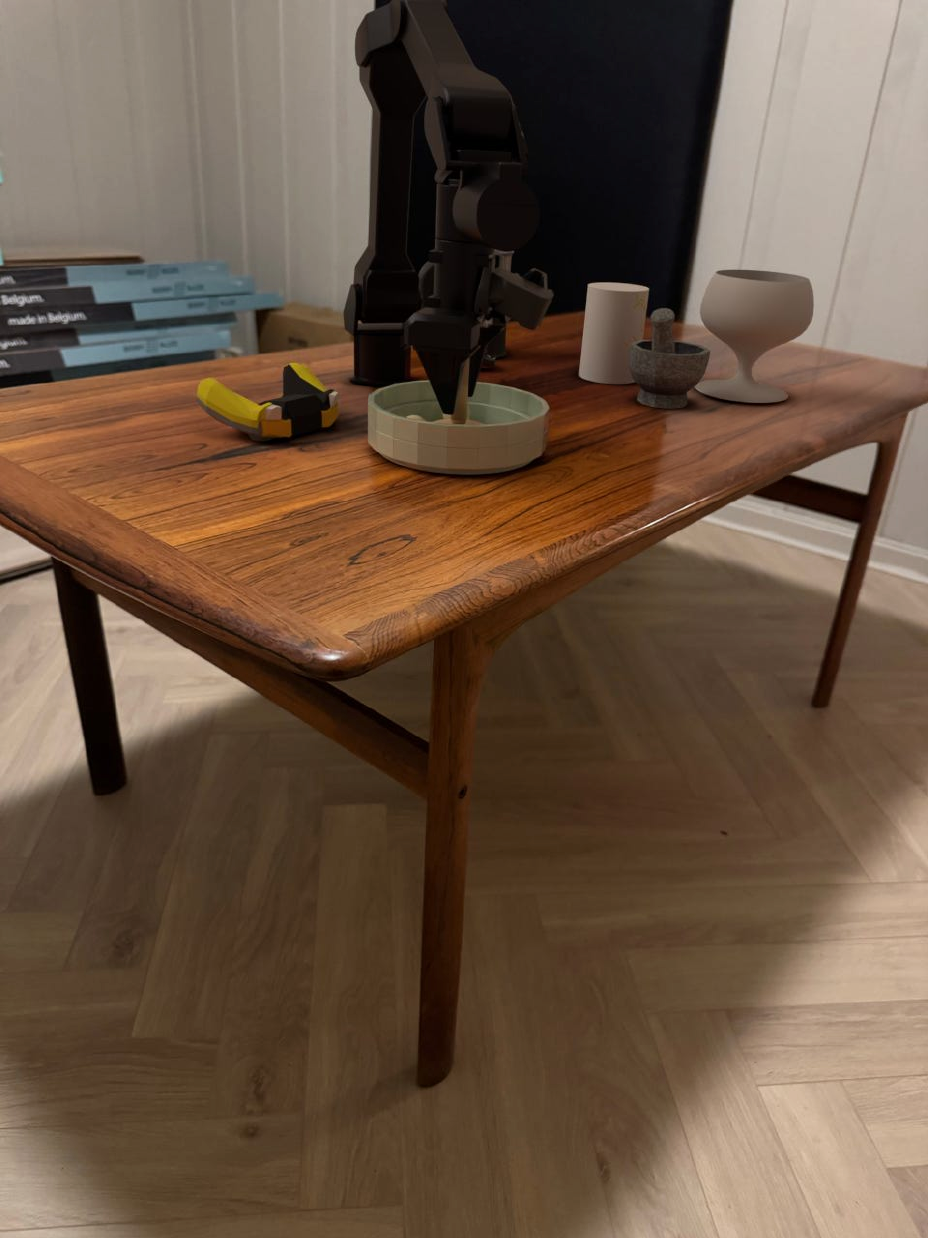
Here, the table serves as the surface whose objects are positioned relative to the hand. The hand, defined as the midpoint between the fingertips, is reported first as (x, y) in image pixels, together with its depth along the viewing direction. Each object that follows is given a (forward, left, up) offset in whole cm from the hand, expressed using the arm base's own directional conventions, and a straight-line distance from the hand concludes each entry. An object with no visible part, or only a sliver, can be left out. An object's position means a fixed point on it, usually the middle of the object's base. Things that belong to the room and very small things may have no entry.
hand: (458, 404), depth 93 cm
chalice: (+29, +39, -5) cm, 49 cm away
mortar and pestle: (+19, +29, -5) cm, 35 cm away
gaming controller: (-20, 0, -5) cm, 21 cm away
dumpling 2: (-2, +5, -2) cm, 6 cm away
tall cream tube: (+11, +41, -5) cm, 43 cm away
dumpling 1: (-4, -3, -2) cm, 5 cm away
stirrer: (0, 0, -4) cm, 4 cm away
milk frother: (-9, +44, -5) cm, 45 cm away
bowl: (0, 0, -5) cm, 5 cm away
